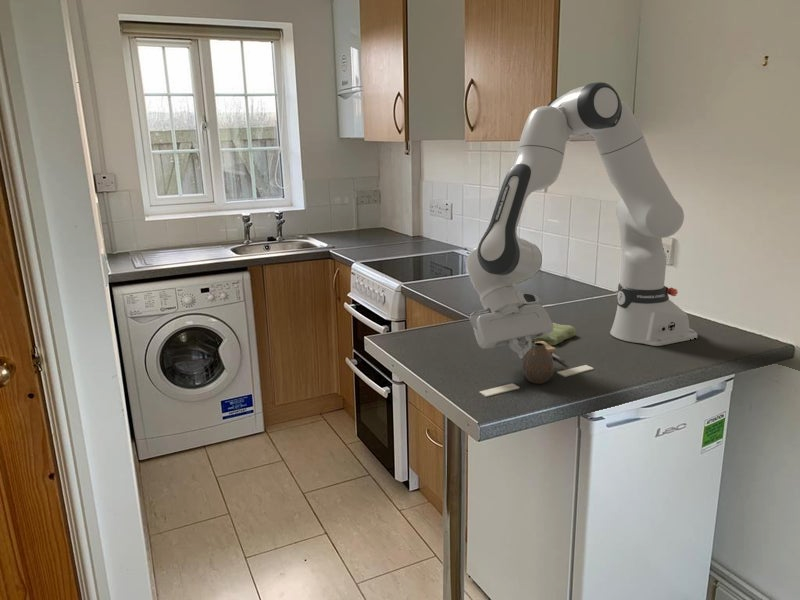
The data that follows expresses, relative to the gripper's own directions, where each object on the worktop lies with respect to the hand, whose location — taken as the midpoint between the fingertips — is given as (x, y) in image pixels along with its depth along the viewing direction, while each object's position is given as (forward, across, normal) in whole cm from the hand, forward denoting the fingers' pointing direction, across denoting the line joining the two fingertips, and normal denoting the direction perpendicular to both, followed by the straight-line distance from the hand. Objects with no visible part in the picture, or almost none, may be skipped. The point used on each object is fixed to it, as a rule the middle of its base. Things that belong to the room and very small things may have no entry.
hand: (527, 357), depth 141 cm
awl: (-1, +12, +8) cm, 15 cm away
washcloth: (-12, +21, +19) cm, 31 cm away
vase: (+6, 0, 0) cm, 6 cm away
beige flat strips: (+6, 0, 0) cm, 6 cm away
